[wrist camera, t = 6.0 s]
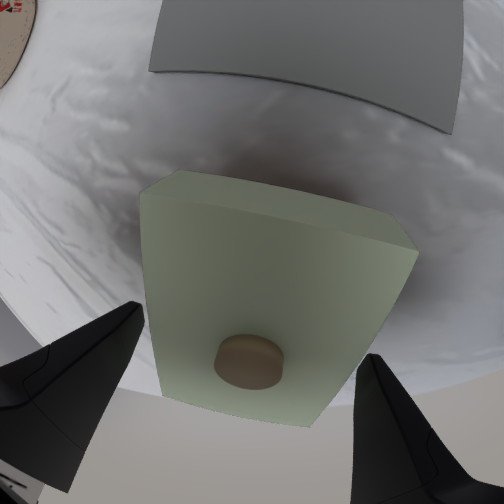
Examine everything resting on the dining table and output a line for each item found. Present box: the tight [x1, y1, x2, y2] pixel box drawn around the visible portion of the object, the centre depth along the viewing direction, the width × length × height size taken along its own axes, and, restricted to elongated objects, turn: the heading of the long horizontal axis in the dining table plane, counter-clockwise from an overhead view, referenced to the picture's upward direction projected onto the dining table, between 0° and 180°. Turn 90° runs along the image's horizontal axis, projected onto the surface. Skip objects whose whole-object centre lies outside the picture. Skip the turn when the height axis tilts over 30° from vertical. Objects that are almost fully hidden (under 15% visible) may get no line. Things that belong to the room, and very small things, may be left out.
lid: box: [139, 170, 420, 427], centre depth 9 cm, size 7×9×3 cm
